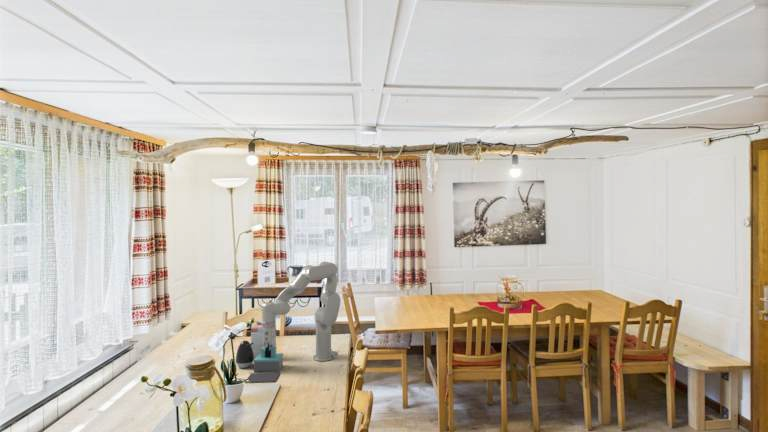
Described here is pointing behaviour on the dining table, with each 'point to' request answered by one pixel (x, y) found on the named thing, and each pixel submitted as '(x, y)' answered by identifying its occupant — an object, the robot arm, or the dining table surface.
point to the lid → (274, 357)
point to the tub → (268, 366)
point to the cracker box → (258, 339)
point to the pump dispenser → (244, 355)
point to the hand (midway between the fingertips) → (268, 355)
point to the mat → (263, 377)
